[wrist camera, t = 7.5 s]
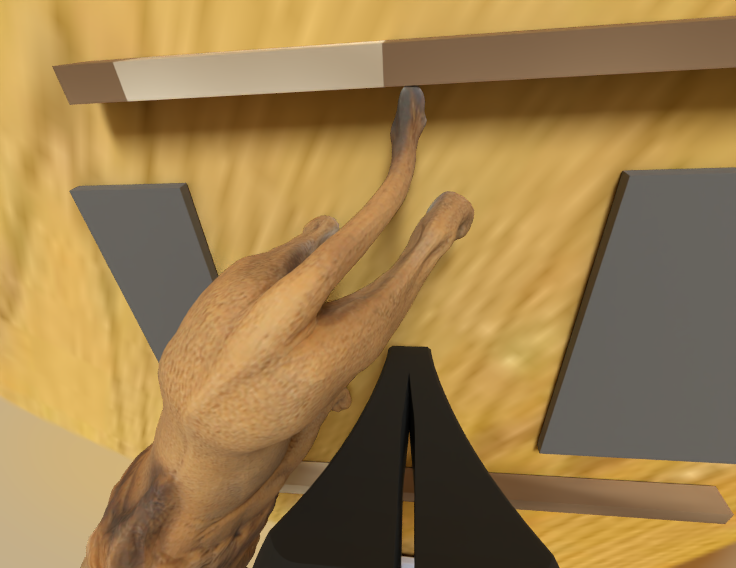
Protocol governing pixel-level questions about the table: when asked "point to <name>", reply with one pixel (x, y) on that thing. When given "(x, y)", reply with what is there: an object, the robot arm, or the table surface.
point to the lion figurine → (267, 376)
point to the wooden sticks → (441, 66)
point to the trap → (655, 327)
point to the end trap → (150, 251)
